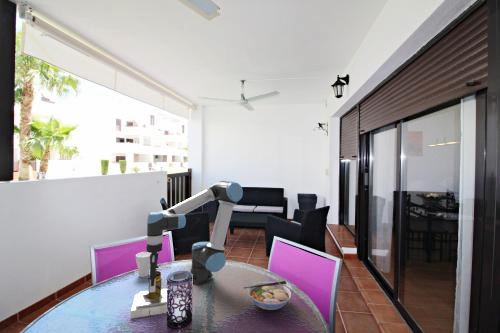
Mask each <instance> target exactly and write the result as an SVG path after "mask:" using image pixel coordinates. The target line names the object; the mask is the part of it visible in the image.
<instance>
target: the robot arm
mask: <svg viewBox="0 0 500 333" xmlns="http://www.w3.org/2000/svg"><path fill="white" fill-rule="evenodd" d="M243 195H244V191H243V188H242V185H240V183H238V182H236V181H228V180H227V181H226V180H221V181H218V182H215V183H212V184H211V185H209V186H207V187H206V188H205V190H203V191H201V192H199V193H197V194H195V195H193V196H191V197H189V198H187V199H185V200H184V201H182V202H179V203H177V204H176V205H174V206H172V207H169V208H168V209H162V210H160V211H153V212H150V213H148V214H147V221H146V224H147V225H146V226H147V228H146V236H145V239H146V243H147V244H146V251H145V252H149V253H152V254H150V270H149V277H148V278H147V280H148V281H149V280H150V286H149V285H148V291H149V293H150V292H155V286H156V277H155V276H156V271H158V269H159V265H158V260H159V252H161V251H163V241H164V240H163V239H164V238H163V235H164V234H163V232H164V231H169V230H176V229H177V230H178V229H183V228H184V227H185V226H186V224H187V218H186V216H185V215H186V214H188V213H190V212H192V211H194V210H195V209H198V208H199V207H201V206H203V205H205V204H206V203H208V202H211V201H212V202H213V201H215V200H217V201H218V203H219V206H218V210H217V214H216V218H215V221H214V225H213V229H212V232H211V236H210V240H209V241H199V242H195V243H193V244H192V245H191V246H192V247H191V268H190V271H189V273H190V272H191V273H192V274H193V283H192V284H193V285H205V284H208V283H210V282H212V281H213V276H214V275H213V273H217V272H219V271H221V270H222V269H223V268H224V267H225V265H226V263H227V257H226V255H225V250H226V248H225V246H224V244H225V241H226V237H227V232H228V229H229V226H230V222H231V219H232V218H231V217H232V214H233V210H234V208H235V207H236V206H237V204H238V202H239V201H240V200H242V198H243Z"/></svg>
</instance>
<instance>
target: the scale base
mask: <svg viewBox="0 0 500 333" xmlns="http://www.w3.org/2000/svg"><path fill="white" fill-rule="evenodd" d="M138 296H139V293H135V295H134V297H133V298H134V299H133V301H132V304H131V309H130V319H136V318H143V317H149V316H150V315H151V316H156V315H157V314H158V315H163V314H162V313H164V314H167V313H166V312H167V304H160V305H153V306H145V307H138V308H136V304H137V300H138Z"/></svg>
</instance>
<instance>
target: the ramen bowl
mask: <svg viewBox="0 0 500 333" xmlns="http://www.w3.org/2000/svg"><path fill="white" fill-rule="evenodd" d="M287 284H288V283H287V282H286V280H283V281H282V280H281V281H276V282H274V281H260V282H256V283H254V284H252V285H250V286H245V287H243V289H248V290H247V292H248V294H247V295H248V296H249V298H250V300H251V302H253V304H255V305H256V307H258V308H261V309H262V310H268V311H274V310H275V311H276V310H278V309H279V310H280V309H281V308H283V307H284V306H285V305H287V304H288V302H289V301H290V299H291V296H292V292H291V290H290V288H288V286H286V285H287Z"/></svg>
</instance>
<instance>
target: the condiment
mask: <svg viewBox="0 0 500 333" xmlns="http://www.w3.org/2000/svg"><path fill="white" fill-rule="evenodd" d="M155 277H156V286H155V292H150V293H148V294H145V295H143V298H144V300H145V302H147V301H151V300H156V299H160V298H163V296H162V295H161V289H162V272H161V271H160V270H157V271H156V276H155ZM149 286H150V280H148V287H149Z"/></svg>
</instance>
